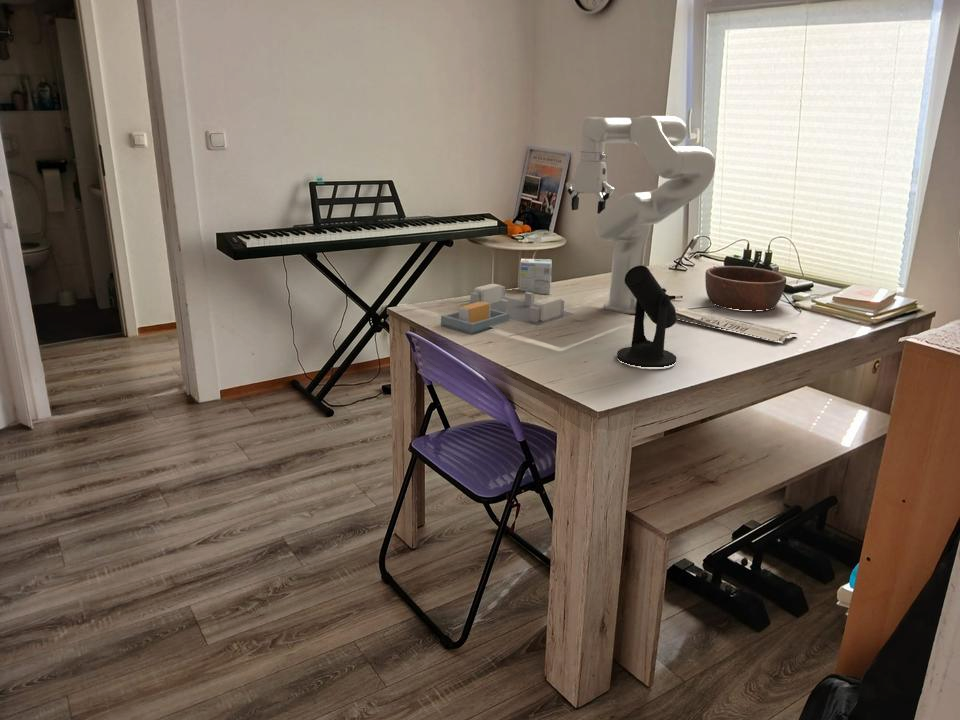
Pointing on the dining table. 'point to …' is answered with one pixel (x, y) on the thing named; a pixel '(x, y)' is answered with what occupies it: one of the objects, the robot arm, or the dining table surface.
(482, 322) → the tray
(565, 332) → the dining table surface
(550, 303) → the block
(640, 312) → the microphone
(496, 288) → the block
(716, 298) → the wooden bowl
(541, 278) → the light bulb box
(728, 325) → the newspaper
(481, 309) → the marked fuse
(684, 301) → the dining table surface
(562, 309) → the fuse block
